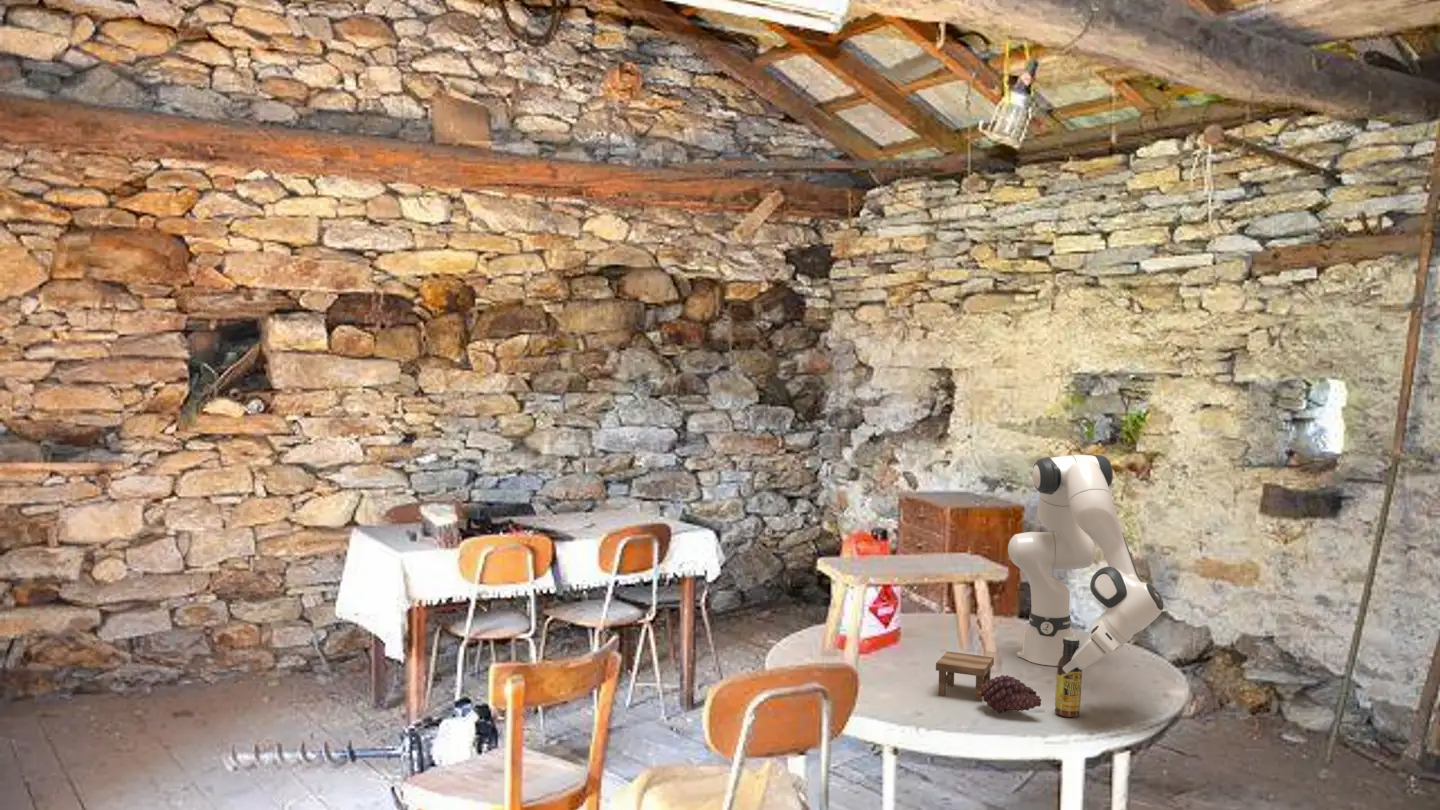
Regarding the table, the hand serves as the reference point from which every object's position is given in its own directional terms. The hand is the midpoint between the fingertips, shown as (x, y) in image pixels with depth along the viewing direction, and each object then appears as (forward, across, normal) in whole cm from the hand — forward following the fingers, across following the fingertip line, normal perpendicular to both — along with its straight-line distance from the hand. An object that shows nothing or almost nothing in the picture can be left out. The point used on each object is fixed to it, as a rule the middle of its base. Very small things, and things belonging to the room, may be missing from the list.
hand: (1066, 666), depth 284 cm
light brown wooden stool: (+28, -6, -11) cm, 31 cm away
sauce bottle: (+8, 0, +9) cm, 13 cm away
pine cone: (+18, +7, -1) cm, 20 cm away
